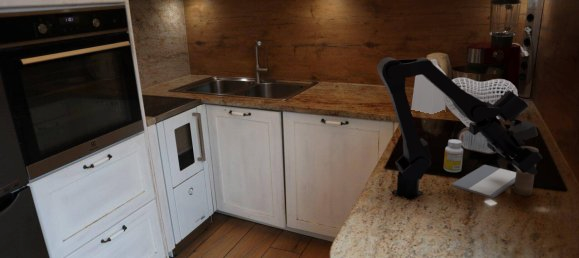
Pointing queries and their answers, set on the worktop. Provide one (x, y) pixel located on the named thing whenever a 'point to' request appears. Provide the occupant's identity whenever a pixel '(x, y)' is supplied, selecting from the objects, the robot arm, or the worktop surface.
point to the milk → (427, 95)
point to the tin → (474, 141)
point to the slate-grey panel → (487, 181)
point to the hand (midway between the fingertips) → (530, 170)
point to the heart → (509, 84)
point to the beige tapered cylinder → (524, 180)
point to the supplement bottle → (453, 156)
